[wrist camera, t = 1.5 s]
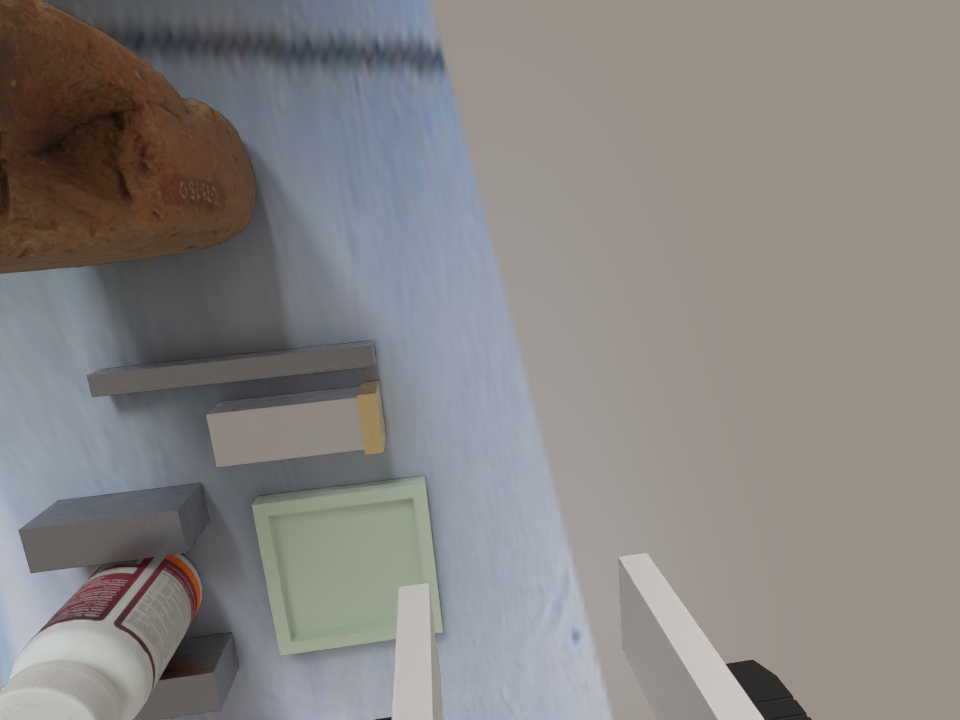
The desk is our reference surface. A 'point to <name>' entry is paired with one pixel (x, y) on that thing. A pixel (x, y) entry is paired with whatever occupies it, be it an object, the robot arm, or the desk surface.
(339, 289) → the desk surface
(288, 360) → the rail
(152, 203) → the block
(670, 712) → the robot arm
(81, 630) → the pill bottle
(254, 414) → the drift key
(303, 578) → the tray
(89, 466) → the desk surface
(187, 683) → the socket
